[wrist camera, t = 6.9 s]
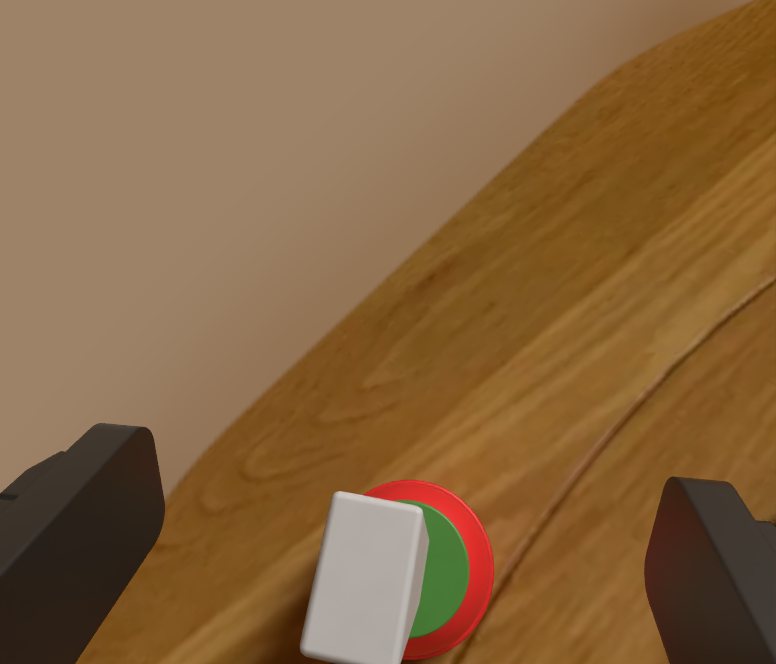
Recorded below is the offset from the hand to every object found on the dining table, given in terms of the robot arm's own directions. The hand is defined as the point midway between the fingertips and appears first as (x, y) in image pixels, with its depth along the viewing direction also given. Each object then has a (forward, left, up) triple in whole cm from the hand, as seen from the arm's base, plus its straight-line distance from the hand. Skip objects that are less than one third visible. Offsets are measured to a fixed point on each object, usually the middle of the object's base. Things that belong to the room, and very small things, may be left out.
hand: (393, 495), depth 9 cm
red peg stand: (0, -1, -12) cm, 12 cm away
